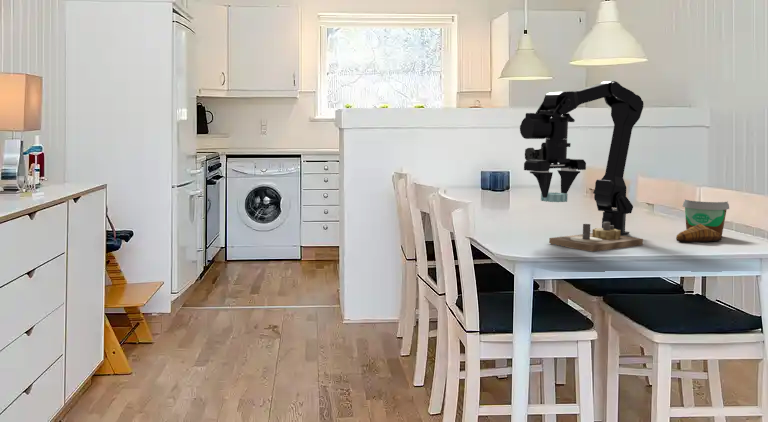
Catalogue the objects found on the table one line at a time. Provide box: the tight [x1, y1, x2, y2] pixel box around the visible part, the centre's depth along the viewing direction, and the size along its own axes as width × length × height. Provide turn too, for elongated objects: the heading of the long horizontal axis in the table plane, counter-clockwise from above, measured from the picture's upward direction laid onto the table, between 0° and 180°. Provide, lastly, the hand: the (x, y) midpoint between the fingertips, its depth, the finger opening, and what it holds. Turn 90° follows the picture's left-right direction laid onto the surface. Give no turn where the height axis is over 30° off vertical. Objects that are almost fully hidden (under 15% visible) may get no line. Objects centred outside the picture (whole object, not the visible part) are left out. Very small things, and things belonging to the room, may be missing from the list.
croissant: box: [675, 224, 723, 243], centre depth 208 cm, size 14×7×5 cm, turn 104°
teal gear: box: [540, 191, 569, 203], centre depth 209 cm, size 7×7×2 cm
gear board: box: [548, 222, 644, 252], centre depth 201 cm, size 20×14×6 cm
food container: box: [682, 199, 730, 236], centre depth 217 cm, size 12×6×10 cm, turn 68°
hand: (554, 197), depth 209 cm, fingers closed on teal gear, 7 cm apart
